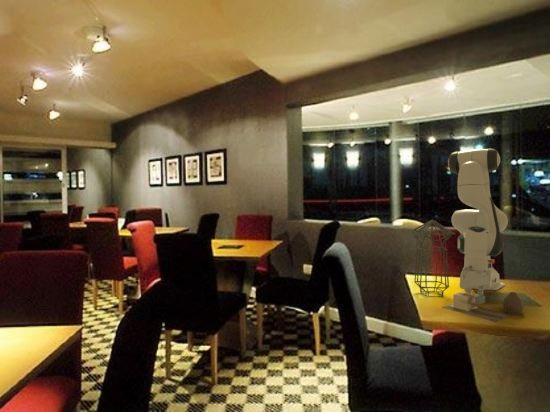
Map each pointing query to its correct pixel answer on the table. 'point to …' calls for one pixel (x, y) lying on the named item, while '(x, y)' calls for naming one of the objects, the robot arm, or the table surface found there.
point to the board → (480, 312)
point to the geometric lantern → (442, 228)
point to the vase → (513, 304)
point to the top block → (479, 299)
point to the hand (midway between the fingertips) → (474, 296)
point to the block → (464, 300)
